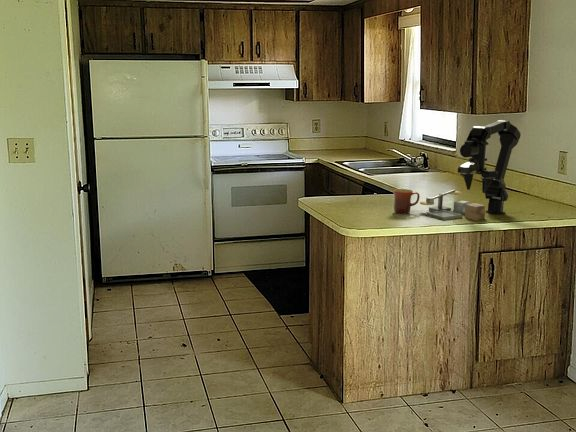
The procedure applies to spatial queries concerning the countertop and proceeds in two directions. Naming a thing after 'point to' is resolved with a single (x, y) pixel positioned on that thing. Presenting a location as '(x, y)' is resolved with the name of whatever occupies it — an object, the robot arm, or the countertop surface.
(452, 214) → the slate dish
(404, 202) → the mug
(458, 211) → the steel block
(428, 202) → the balance
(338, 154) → the countertop surface
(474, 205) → the walnut block
